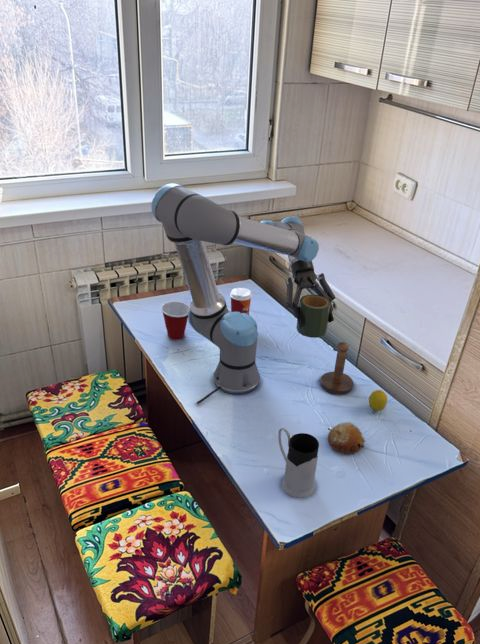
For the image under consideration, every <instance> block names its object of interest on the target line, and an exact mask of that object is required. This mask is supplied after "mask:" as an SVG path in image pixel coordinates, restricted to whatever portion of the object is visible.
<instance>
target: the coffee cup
mask: <svg viewBox="0 0 480 644" xmlns="http://www.w3.org/2000/svg"><path fill="white" fill-rule="evenodd" d="M229 296H230V312H240V313H245V314H248V315H249V316H250V310H251V302H252V301H251V300H252V298H253V294H252V291H251V290H250V289H248V288H245V287H235V288H232V290H231V291H230V293H229Z"/></svg>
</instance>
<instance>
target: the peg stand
mask: <svg viewBox="0 0 480 644" xmlns="http://www.w3.org/2000/svg"><path fill="white" fill-rule="evenodd" d="M336 349H337V351H336V358H335V364H334V368H333V369H334V370H333V371H327V372H325V373H324V374H322V376H320V382H319V383H320V386H321V388H322V389H323V390H324V391H325V392H327V393H329V394H332V395H337V396H338V395H339V396H341V395H342V396H343V395H347V394H349V393H350V392H352V391H353V389H354V380H353V378H352V377H351V376H350V375H348V374H346V373H344V372H345V371H344V370H345V364H346V359H347V353H348V351H349V344H348V342H346V341H339V342H338V344H337V347H336Z"/></svg>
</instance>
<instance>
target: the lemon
mask: <svg viewBox="0 0 480 644" xmlns="http://www.w3.org/2000/svg"><path fill="white" fill-rule="evenodd" d="M387 404H388V396H387V394H386V392H385V391H383V390H381V389H376V390H374V391H372V392H371V393H370V396H369V398H368V405H369V407H370V409H371V410H372V411H375V412H380V411H381V412H382V411H383V410H384V409H385V408H386V406H387Z"/></svg>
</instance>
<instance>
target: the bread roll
mask: <svg viewBox="0 0 480 644" xmlns="http://www.w3.org/2000/svg"><path fill="white" fill-rule="evenodd" d="M327 441H328V444H329V446H330V447H331V448H332V449H333V450H334V451H336V452H338V453H342V454H344V455H345V454H347V455H352V454H356V453H358V452H359V451H361V450H362V448H365V445H364V443H365V442H366V440H365V438H364V437H363V434H362V431H361V430H360V429H359V427H358V426H356V425H355V424H354V423H352V422H347V421H346V422H340V423H338V424H337V425H335V426H334V427H332V428H331V429H330V431H329V432H328V435H327Z"/></svg>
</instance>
